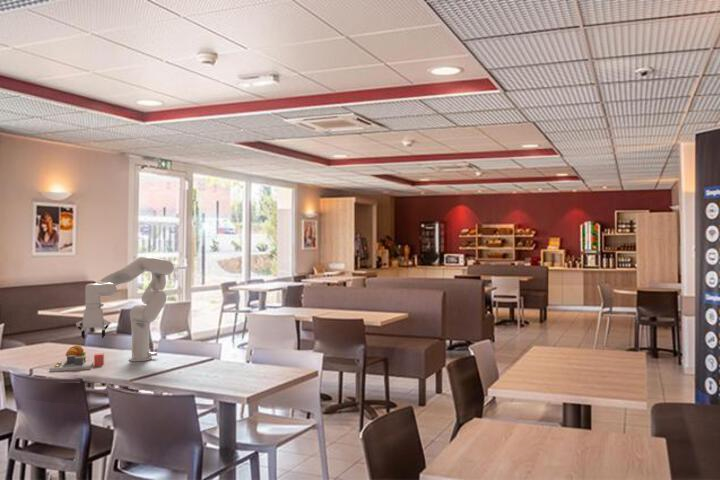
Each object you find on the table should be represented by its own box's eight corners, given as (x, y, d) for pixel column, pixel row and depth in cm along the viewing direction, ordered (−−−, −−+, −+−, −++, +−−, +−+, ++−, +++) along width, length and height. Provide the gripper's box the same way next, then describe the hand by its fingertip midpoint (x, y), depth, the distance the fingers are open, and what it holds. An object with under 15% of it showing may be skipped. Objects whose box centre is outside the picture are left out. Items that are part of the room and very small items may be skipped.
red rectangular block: (104, 363, 343) (104, 353, 343) (103, 365, 339) (103, 354, 338) (95, 364, 342) (95, 353, 342) (94, 366, 337) (94, 355, 337)
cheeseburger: (90, 359, 355) (88, 343, 353) (80, 367, 345) (78, 351, 343) (73, 358, 356) (71, 342, 354) (63, 366, 346) (61, 350, 344)
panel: (93, 364, 340) (93, 359, 340) (90, 369, 329) (90, 363, 329) (54, 367, 335) (54, 361, 335) (49, 371, 323) (49, 366, 323)
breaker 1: (76, 362, 337) (76, 355, 337) (75, 363, 333) (74, 356, 333) (68, 362, 335) (68, 355, 335) (67, 364, 332) (66, 356, 332)
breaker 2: (83, 364, 332) (83, 356, 332) (82, 365, 329) (82, 357, 329) (75, 364, 331) (75, 357, 331) (74, 365, 328) (74, 358, 328)
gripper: (111, 305, 338) (111, 336, 338) (77, 306, 333) (77, 337, 333) (109, 306, 330) (109, 338, 331) (74, 307, 326) (74, 339, 326)
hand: (93, 337), depth 332 cm, fingers open, 9 cm apart
